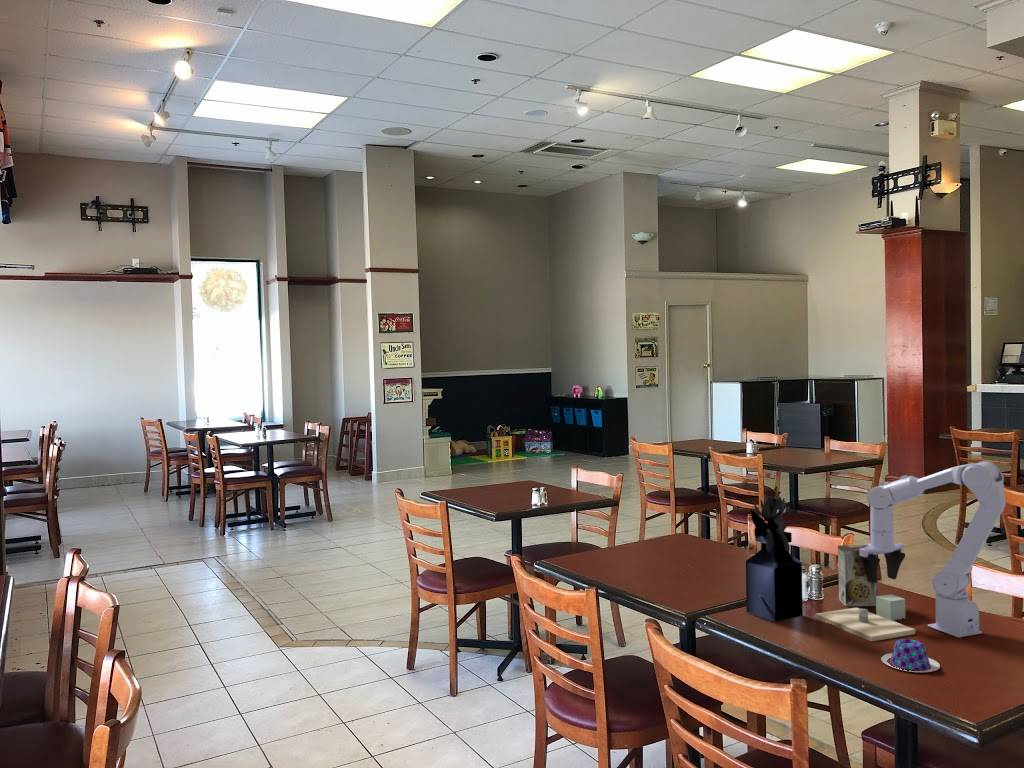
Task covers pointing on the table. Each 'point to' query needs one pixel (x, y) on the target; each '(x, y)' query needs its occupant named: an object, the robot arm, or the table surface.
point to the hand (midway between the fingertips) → (881, 580)
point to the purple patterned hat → (911, 656)
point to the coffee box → (854, 578)
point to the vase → (773, 567)
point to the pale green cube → (890, 607)
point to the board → (865, 624)
